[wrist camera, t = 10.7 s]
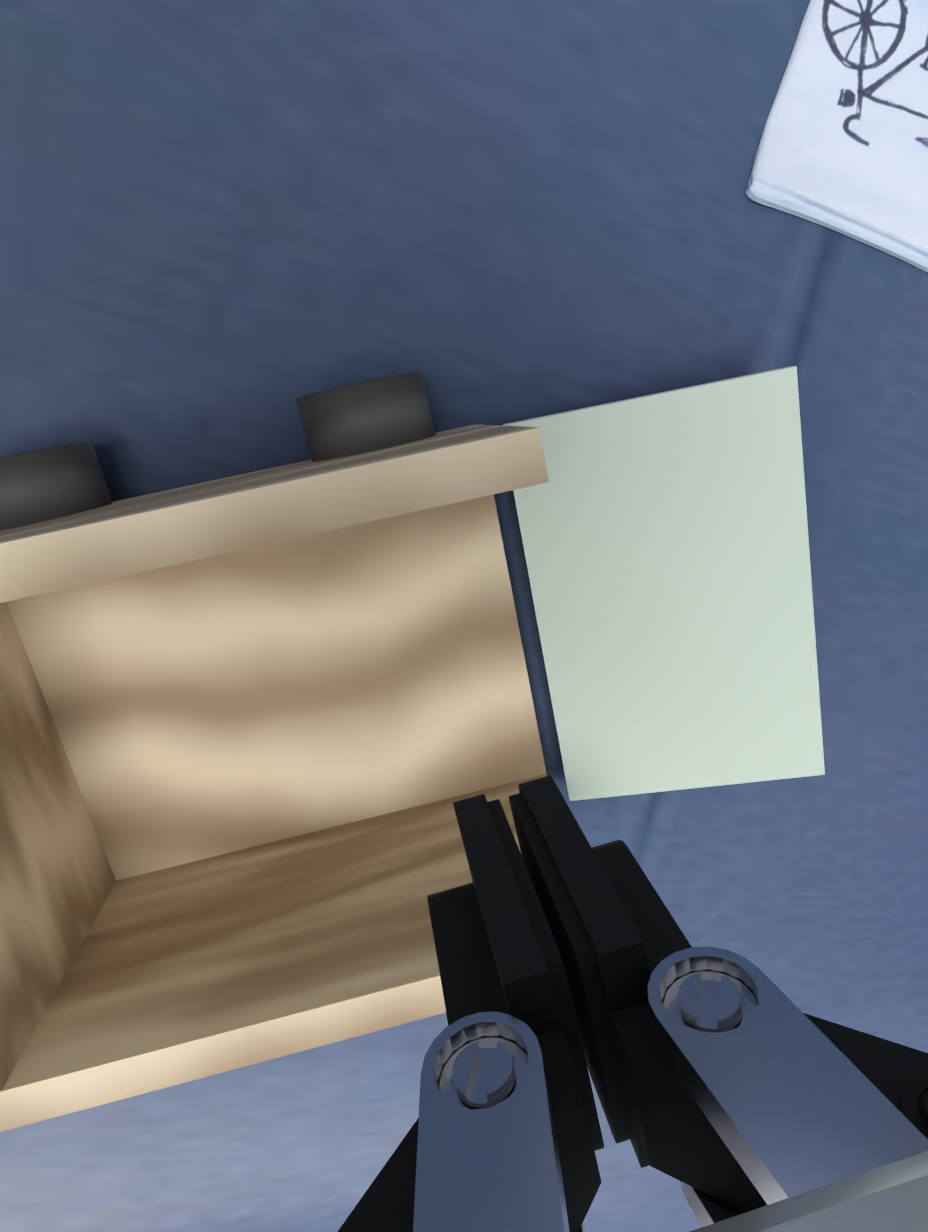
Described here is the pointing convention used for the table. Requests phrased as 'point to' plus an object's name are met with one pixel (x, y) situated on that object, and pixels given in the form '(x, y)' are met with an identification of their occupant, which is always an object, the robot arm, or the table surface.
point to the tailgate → (677, 588)
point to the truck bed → (247, 744)
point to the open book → (853, 126)
